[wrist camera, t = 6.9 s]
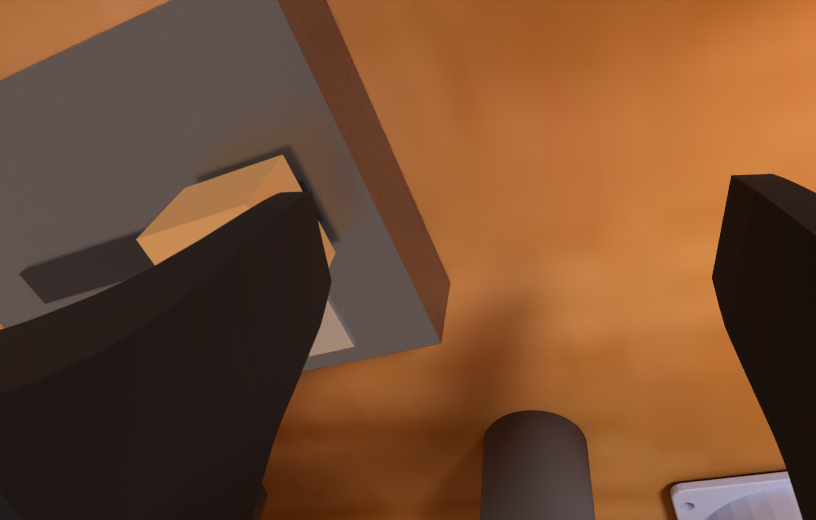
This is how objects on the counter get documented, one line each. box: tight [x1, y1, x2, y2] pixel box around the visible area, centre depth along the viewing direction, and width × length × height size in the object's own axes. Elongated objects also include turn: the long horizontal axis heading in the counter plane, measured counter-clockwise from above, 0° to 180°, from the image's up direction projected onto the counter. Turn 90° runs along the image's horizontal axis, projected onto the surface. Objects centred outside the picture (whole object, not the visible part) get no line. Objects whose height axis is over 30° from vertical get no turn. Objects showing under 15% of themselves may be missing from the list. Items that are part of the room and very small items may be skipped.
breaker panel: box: [0, 0, 450, 372], centre depth 19 cm, size 11×14×3 cm
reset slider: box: [136, 155, 336, 267], centre depth 15 cm, size 3×3×3 cm
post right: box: [480, 411, 595, 520], centre depth 22 cm, size 4×4×6 cm
